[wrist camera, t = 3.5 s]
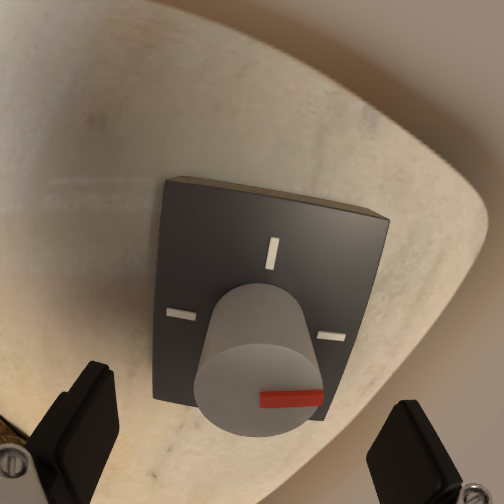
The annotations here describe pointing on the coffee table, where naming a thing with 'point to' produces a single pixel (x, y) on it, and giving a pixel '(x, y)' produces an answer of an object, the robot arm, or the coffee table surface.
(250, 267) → the rotary knob panel
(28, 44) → the coffee table surface
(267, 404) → the dial
